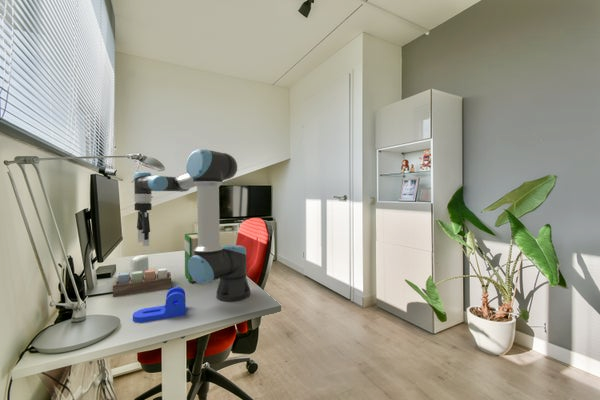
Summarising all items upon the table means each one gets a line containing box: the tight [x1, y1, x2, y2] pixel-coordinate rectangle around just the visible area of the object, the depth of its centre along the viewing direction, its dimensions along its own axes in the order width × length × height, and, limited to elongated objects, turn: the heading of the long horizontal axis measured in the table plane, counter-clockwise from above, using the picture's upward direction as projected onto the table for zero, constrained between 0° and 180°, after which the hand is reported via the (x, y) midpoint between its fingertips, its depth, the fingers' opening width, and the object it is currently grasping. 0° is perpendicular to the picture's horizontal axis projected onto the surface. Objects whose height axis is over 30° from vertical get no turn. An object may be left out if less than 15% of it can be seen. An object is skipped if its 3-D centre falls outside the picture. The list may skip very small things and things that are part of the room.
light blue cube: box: [117, 271, 131, 284], centre depth 128 cm, size 4×4×4 cm
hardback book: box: [184, 232, 198, 285], centre depth 148 cm, size 18×7×24 cm, turn 31°
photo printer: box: [130, 254, 149, 277], centre depth 149 cm, size 10×4×12 cm, turn 172°
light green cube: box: [132, 271, 143, 282], centre depth 131 cm, size 4×4×4 cm
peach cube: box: [145, 269, 156, 281], centre depth 133 cm, size 4×4×4 cm
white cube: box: [157, 267, 168, 279], centre depth 136 cm, size 4×4×4 cm
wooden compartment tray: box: [112, 271, 172, 297], centre depth 132 cm, size 12×24×5 cm, turn 118°
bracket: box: [132, 286, 187, 323], centre depth 103 cm, size 18×8×9 cm, turn 114°
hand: (143, 244), depth 136 cm, fingers open, 13 cm apart
